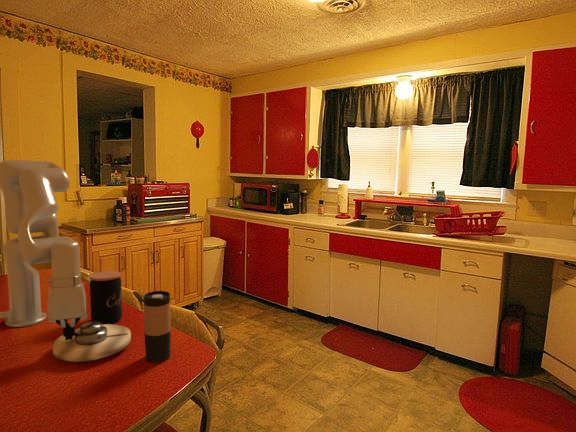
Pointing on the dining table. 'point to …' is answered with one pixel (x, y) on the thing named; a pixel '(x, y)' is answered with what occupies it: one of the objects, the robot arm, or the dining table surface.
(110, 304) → the coffee jar
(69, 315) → the robot arm
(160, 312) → the travel mug
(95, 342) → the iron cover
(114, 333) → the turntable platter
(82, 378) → the dining table surface
